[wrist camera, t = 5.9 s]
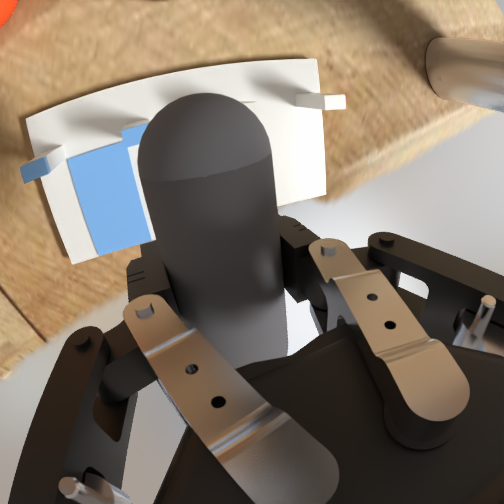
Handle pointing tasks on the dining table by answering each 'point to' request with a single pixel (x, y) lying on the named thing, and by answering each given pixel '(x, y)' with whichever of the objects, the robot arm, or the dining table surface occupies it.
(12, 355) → the dining table surface
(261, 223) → the dark grey rounded cylinder
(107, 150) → the white peg board
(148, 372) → the robot arm
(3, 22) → the clementine
